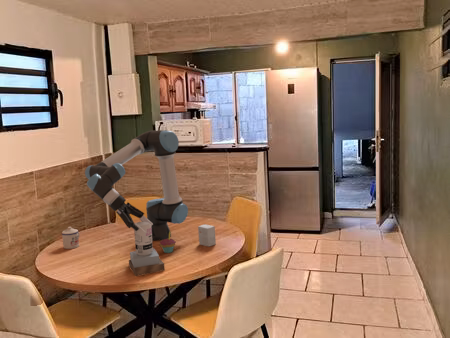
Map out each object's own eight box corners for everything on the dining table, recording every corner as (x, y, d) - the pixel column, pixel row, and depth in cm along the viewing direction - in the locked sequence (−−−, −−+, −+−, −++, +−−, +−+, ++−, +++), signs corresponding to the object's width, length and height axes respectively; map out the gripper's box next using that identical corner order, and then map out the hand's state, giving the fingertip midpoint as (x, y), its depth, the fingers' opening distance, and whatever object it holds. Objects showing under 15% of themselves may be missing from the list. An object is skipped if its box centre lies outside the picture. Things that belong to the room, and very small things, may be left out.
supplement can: (136, 250, 218) (134, 221, 215) (153, 249, 218) (151, 220, 216) (134, 256, 210) (132, 226, 207) (152, 255, 210) (150, 225, 208)
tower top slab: (154, 255, 222) (154, 248, 221) (159, 263, 211) (158, 255, 210) (130, 259, 218) (129, 251, 217) (134, 267, 207) (133, 259, 206)
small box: (216, 244, 247) (215, 226, 245) (208, 247, 243) (208, 228, 241) (205, 241, 252) (205, 224, 251) (198, 244, 248) (197, 226, 247)
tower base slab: (156, 262, 224) (156, 254, 223) (164, 271, 211) (164, 263, 211) (129, 267, 218) (128, 259, 218) (135, 277, 206) (135, 269, 205)
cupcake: (178, 249, 241) (177, 228, 239) (171, 254, 233) (170, 232, 231) (164, 248, 244) (163, 227, 242) (157, 253, 236) (155, 231, 234)
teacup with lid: (72, 249, 249) (70, 229, 247) (59, 248, 252) (57, 228, 250) (86, 243, 260) (84, 223, 258) (73, 242, 263) (71, 223, 261)
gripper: (118, 200, 224) (149, 228, 225) (100, 212, 200) (134, 243, 200) (127, 189, 223) (158, 217, 224) (110, 200, 198) (145, 232, 199)
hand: (147, 230), depth 212 cm, fingers open, 13 cm apart
